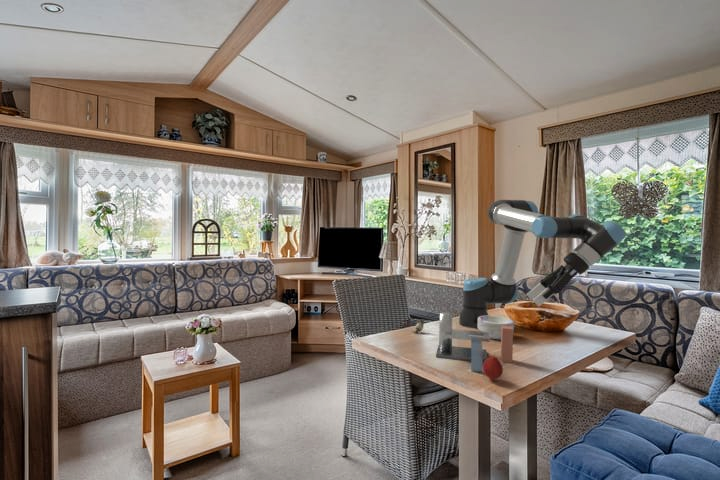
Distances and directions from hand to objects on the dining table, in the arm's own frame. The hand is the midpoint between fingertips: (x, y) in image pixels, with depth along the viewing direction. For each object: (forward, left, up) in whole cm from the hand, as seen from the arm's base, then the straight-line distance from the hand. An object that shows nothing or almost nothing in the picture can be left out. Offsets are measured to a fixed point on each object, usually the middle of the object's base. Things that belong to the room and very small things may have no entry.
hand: (532, 300), depth 125 cm
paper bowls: (-20, -26, -23) cm, 40 cm away
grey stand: (+17, -17, -22) cm, 32 cm away
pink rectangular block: (+5, -6, -22) cm, 24 cm away
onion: (+25, 0, -22) cm, 33 cm away
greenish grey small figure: (+3, -50, -23) cm, 55 cm away
